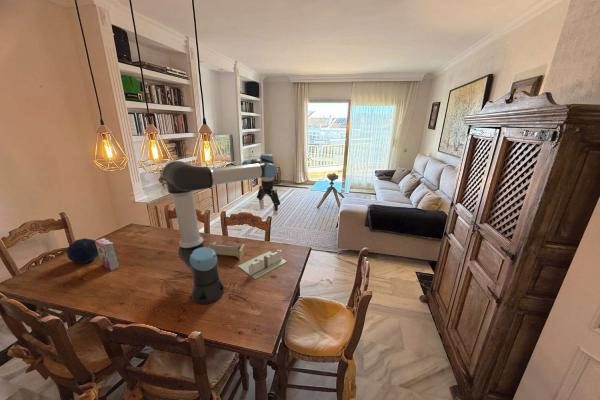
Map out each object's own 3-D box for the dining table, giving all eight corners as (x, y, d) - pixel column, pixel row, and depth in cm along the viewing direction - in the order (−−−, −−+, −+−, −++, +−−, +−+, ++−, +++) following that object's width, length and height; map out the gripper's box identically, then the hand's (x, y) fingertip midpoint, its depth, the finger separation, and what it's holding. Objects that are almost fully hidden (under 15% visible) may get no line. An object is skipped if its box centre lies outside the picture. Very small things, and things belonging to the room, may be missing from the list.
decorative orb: (93, 259, 136) (93, 234, 140) (59, 265, 131) (61, 238, 135) (104, 261, 149) (104, 238, 153) (74, 266, 143) (75, 242, 148)
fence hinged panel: (268, 266, 140) (268, 256, 138) (266, 265, 141) (266, 255, 139) (282, 258, 148) (282, 249, 146) (280, 257, 149) (280, 248, 147)
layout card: (254, 279, 130) (254, 278, 130) (238, 266, 141) (238, 265, 141) (287, 261, 146) (286, 261, 146) (269, 251, 157) (269, 250, 157)
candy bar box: (101, 265, 140) (94, 240, 134) (111, 261, 144) (104, 237, 138) (110, 271, 134) (103, 246, 129) (120, 267, 138) (113, 242, 133)
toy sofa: (245, 252, 155) (244, 239, 152) (241, 260, 147) (240, 245, 144) (215, 250, 157) (213, 237, 154) (208, 258, 149) (207, 243, 146)
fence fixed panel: (250, 276, 132) (249, 265, 129) (248, 274, 133) (248, 263, 131) (267, 267, 140) (267, 256, 138) (266, 265, 141) (265, 255, 139)
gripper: (286, 182, 139) (286, 215, 145) (259, 175, 155) (261, 205, 161) (276, 184, 133) (277, 219, 140) (250, 177, 149) (251, 208, 156)
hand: (268, 212), depth 151 cm, fingers open, 13 cm apart
